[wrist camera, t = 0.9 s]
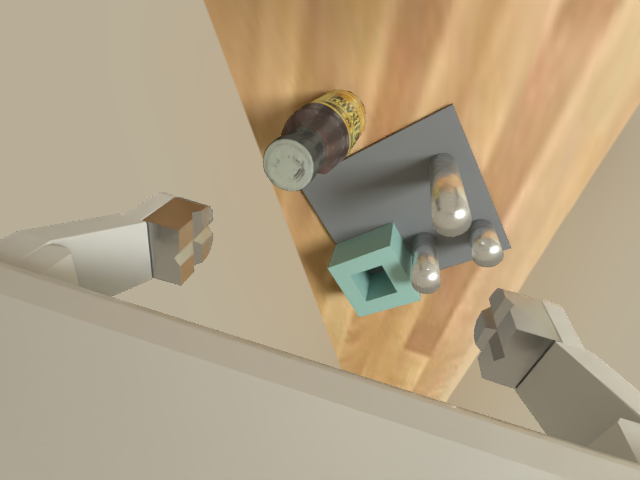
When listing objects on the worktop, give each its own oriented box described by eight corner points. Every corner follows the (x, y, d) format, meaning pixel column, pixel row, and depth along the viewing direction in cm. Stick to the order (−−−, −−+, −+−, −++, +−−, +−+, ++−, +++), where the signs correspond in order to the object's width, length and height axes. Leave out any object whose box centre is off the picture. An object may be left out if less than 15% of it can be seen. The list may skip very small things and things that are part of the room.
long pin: (450, 148, 41) (463, 198, 29) (460, 171, 42) (477, 229, 30) (424, 160, 42) (426, 212, 30) (434, 182, 43) (440, 241, 32)
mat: (452, 103, 39) (452, 104, 38) (510, 245, 46) (511, 248, 45) (299, 181, 48) (298, 183, 48) (366, 290, 55) (366, 292, 55)
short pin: (489, 215, 44) (498, 239, 39) (497, 235, 45) (507, 262, 40) (463, 224, 45) (468, 249, 40) (471, 244, 46) (478, 270, 41)
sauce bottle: (375, 128, 42) (348, 196, 26) (330, 148, 45) (278, 222, 28) (353, 74, 40) (307, 111, 23) (306, 99, 42) (235, 148, 26)
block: (393, 222, 47) (390, 245, 42) (420, 272, 50) (420, 300, 45) (336, 244, 51) (327, 268, 46) (364, 290, 54) (359, 316, 49)
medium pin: (431, 228, 46) (433, 268, 39) (440, 247, 48) (444, 289, 40) (408, 236, 48) (406, 276, 40) (418, 255, 49) (417, 296, 42)
